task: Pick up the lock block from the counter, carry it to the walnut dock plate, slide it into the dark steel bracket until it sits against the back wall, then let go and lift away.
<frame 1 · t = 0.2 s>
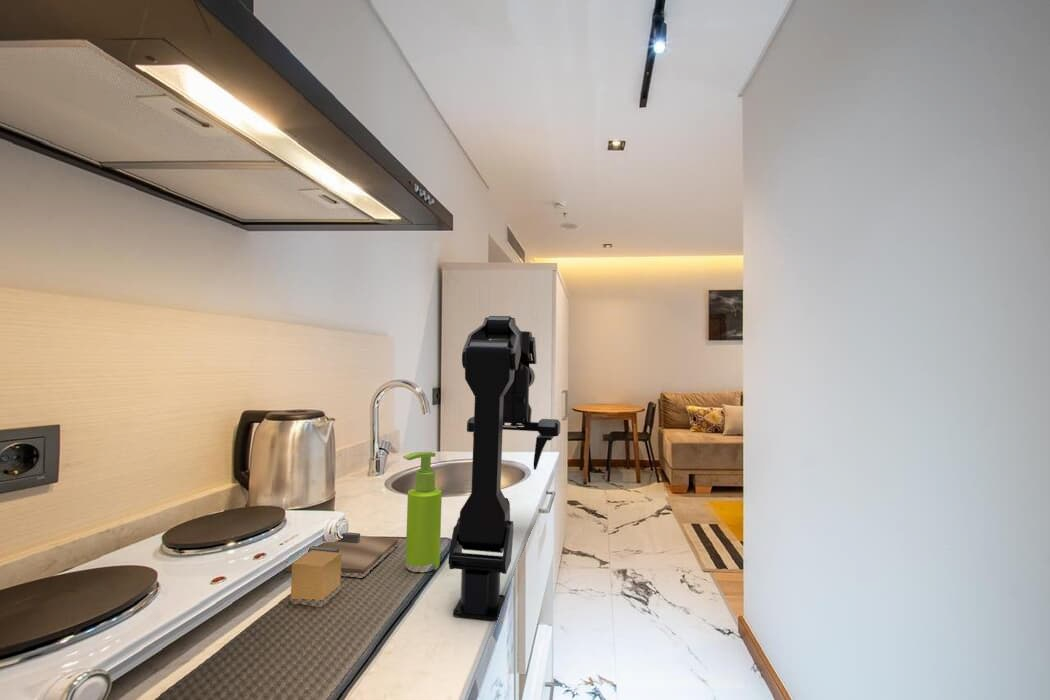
hand: (512, 467, 99), 15 cm above the worktop, tool pointing down, fingers open, 9 cm apart
soap dispenser: (419, 567, 84), on the worktop
dock: (345, 558, 87), on the worktop
lock block: (315, 597, 73), on the worktop
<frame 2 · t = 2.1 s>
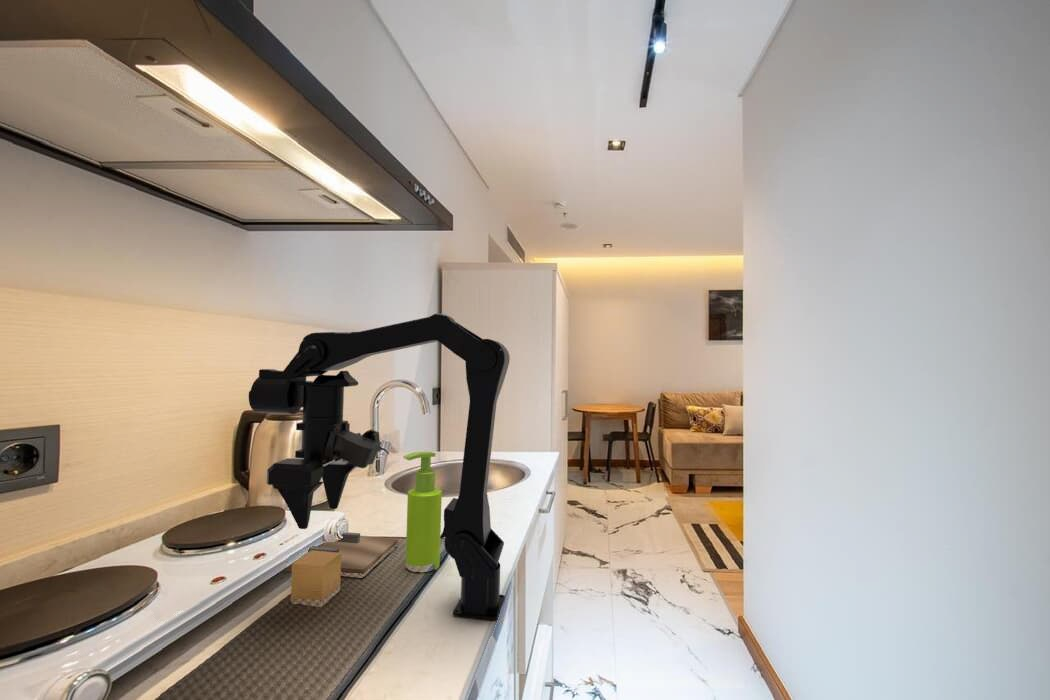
hand: (319, 518, 73), 12 cm above the worktop, tool pointing down, fingers open, 9 cm apart
nothing on the worktop moved.
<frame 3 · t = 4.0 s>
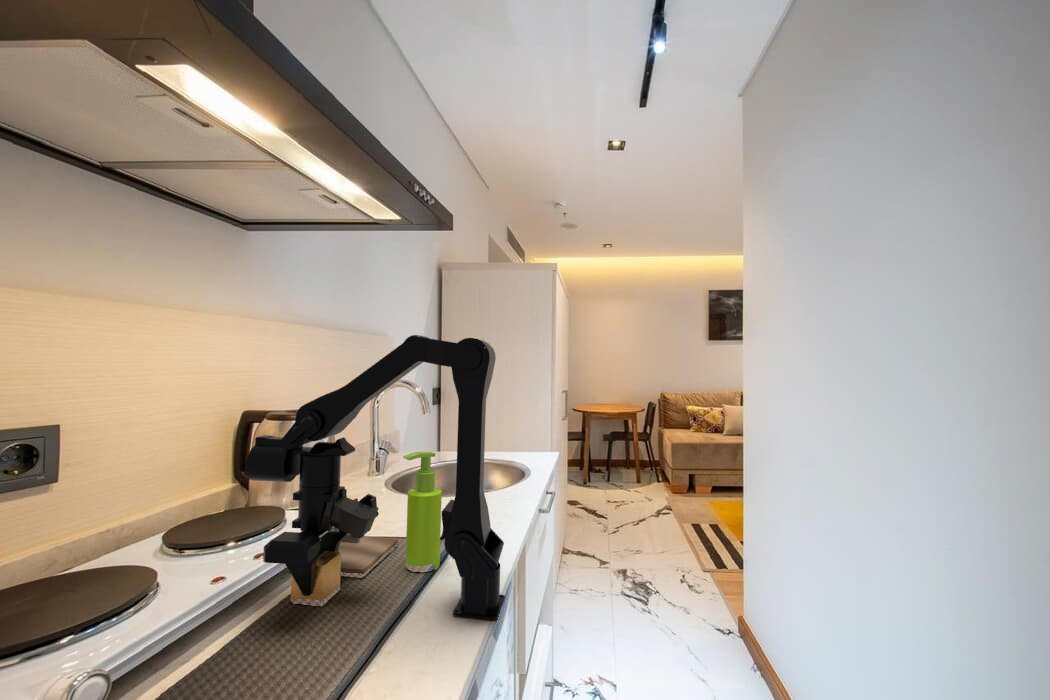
hand: (316, 586, 73), 2 cm above the worktop, tool pointing down, fingers closed on lock block, 5 cm apart
lock block: (315, 597, 73), on the worktop, touching gripper
everything else where it was.
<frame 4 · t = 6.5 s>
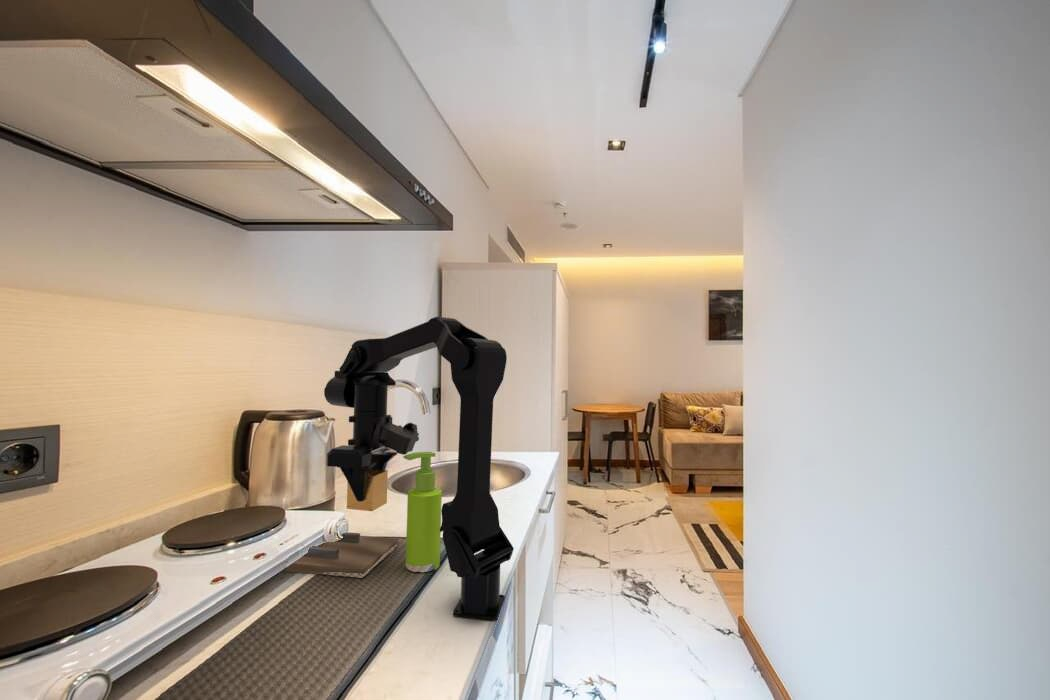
hand: (367, 496, 86), 11 cm above the worktop, tool pointing down, fingers closed on lock block, 5 cm apart
lock block: (367, 505, 86), point 10 cm above the worktop, touching gripper
everything else where it was.
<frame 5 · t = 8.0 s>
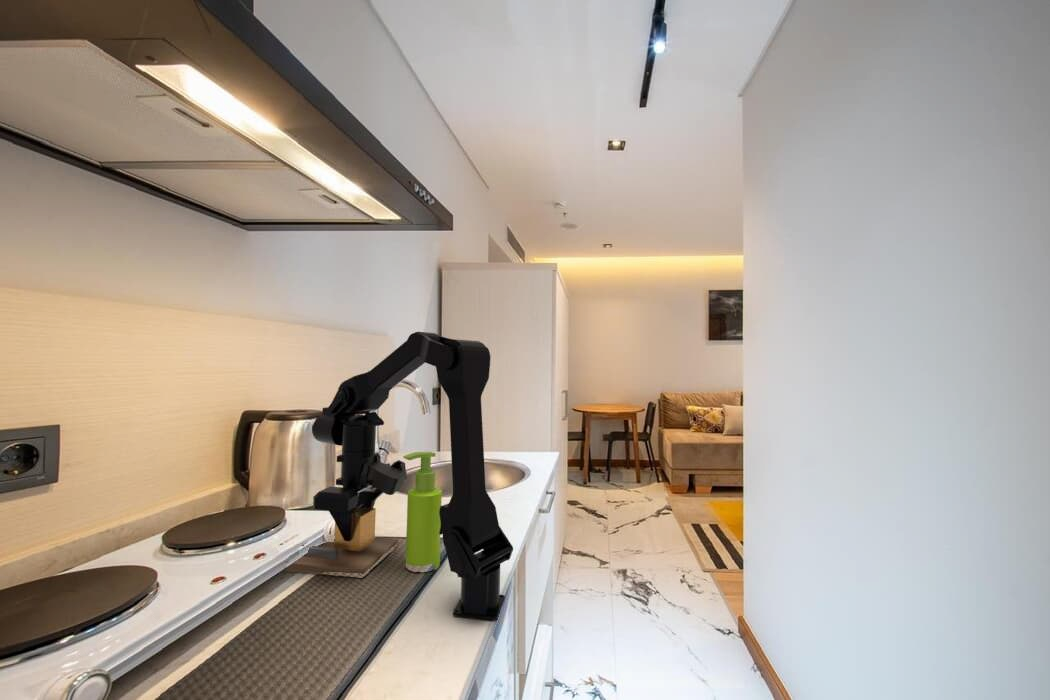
hand: (355, 535, 87), 4 cm above the worktop, tool pointing down, fingers closed on lock block, 5 cm apart
lock block: (354, 544, 87), point 3 cm above the worktop, touching gripper
everything else where it was.
when the fingers open (4 cm above the worktop, at t = 9.3 s): lock block stays where it is, resting on dock.
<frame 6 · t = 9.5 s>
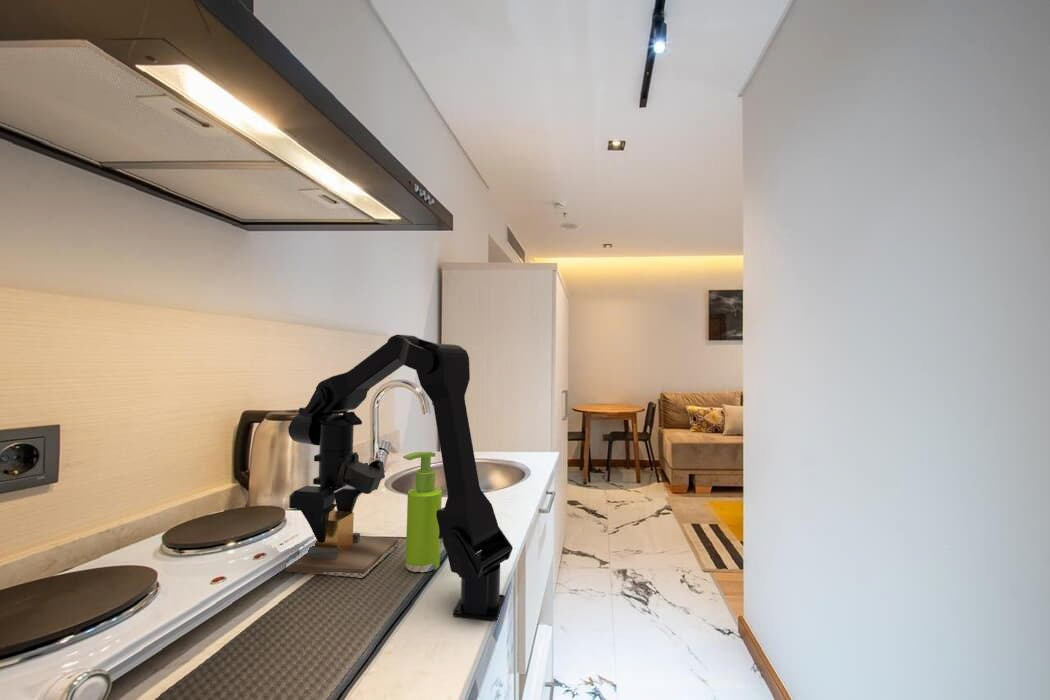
hand: (333, 534, 87), 4 cm above the worktop, tool pointing down, fingers open, 7 cm apart
lock block: (332, 548, 87), point 1 cm above the worktop, touching dock
everything else where it was.
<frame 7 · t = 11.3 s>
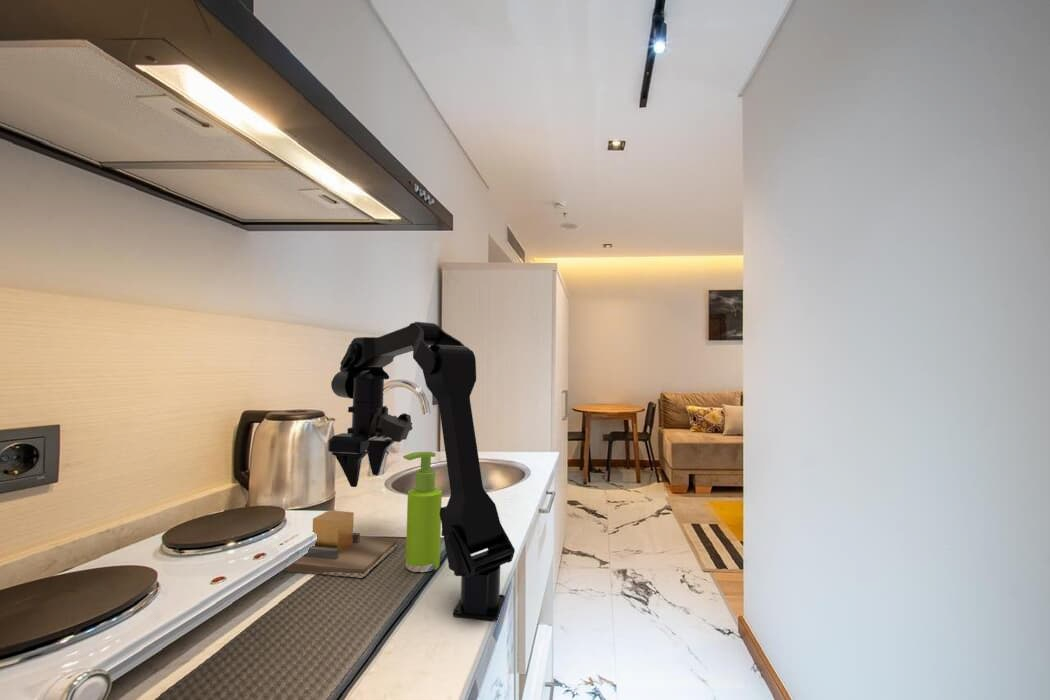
hand: (365, 480, 95), 12 cm above the worktop, tool pointing down, fingers open, 9 cm apart
nothing on the worktop moved.
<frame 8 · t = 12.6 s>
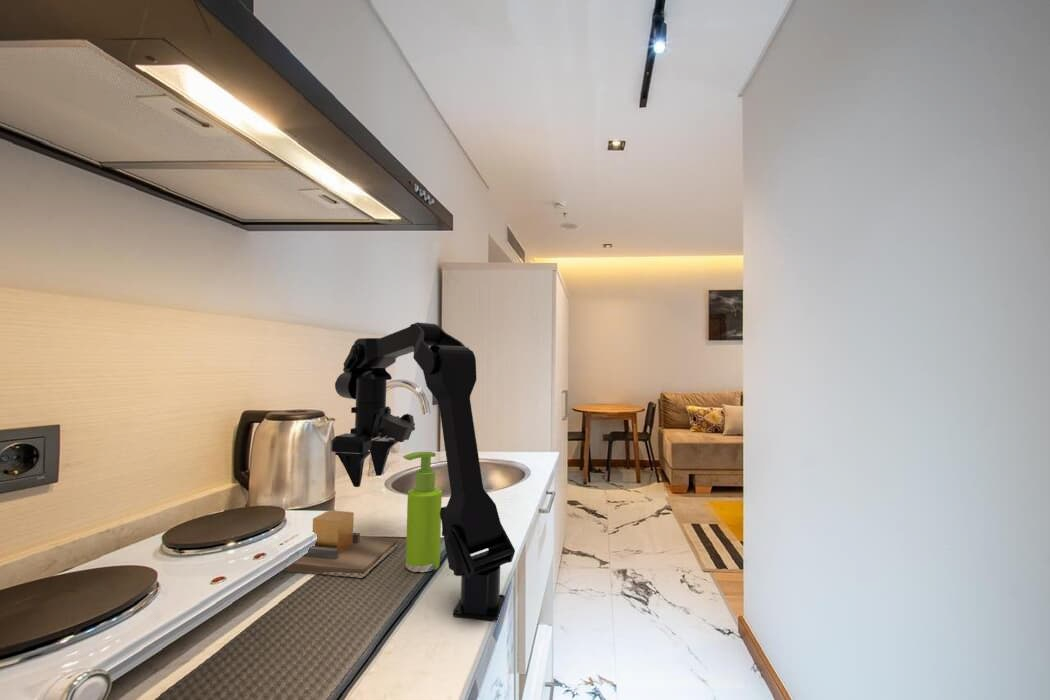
hand: (368, 480, 95), 12 cm above the worktop, tool pointing down, fingers open, 9 cm apart
nothing on the worktop moved.
at the end: lock block 0.1 cm from the target spot on the dock, point 1.5 cm above the dock's base; lock block tilted 0°; the gripper is holding nothing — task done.
